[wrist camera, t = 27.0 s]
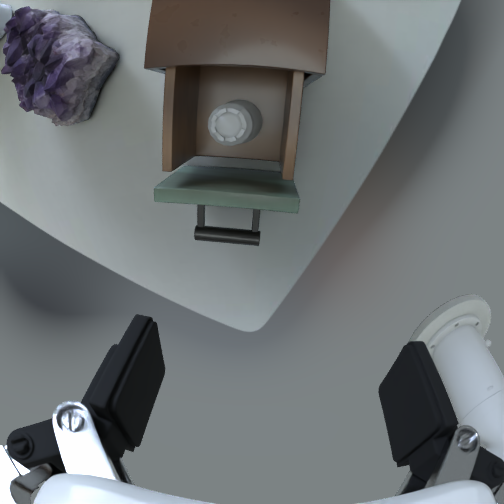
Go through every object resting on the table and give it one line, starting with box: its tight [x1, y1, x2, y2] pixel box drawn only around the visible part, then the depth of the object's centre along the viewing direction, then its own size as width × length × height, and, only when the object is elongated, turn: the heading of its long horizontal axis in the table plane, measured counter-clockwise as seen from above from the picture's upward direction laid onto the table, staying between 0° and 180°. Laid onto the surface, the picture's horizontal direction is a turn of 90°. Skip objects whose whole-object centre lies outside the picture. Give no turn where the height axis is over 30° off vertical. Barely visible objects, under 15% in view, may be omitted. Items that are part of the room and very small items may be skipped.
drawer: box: [154, 66, 304, 246], centre depth 23 cm, size 18×11×9 cm, turn 176°
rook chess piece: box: [208, 99, 263, 146], centre depth 22 cm, size 4×4×8 cm
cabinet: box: [144, 0, 330, 87], centre depth 17 cm, size 15×13×11 cm
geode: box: [1, 6, 119, 126], centre depth 19 cm, size 20×12×10 cm, turn 40°
